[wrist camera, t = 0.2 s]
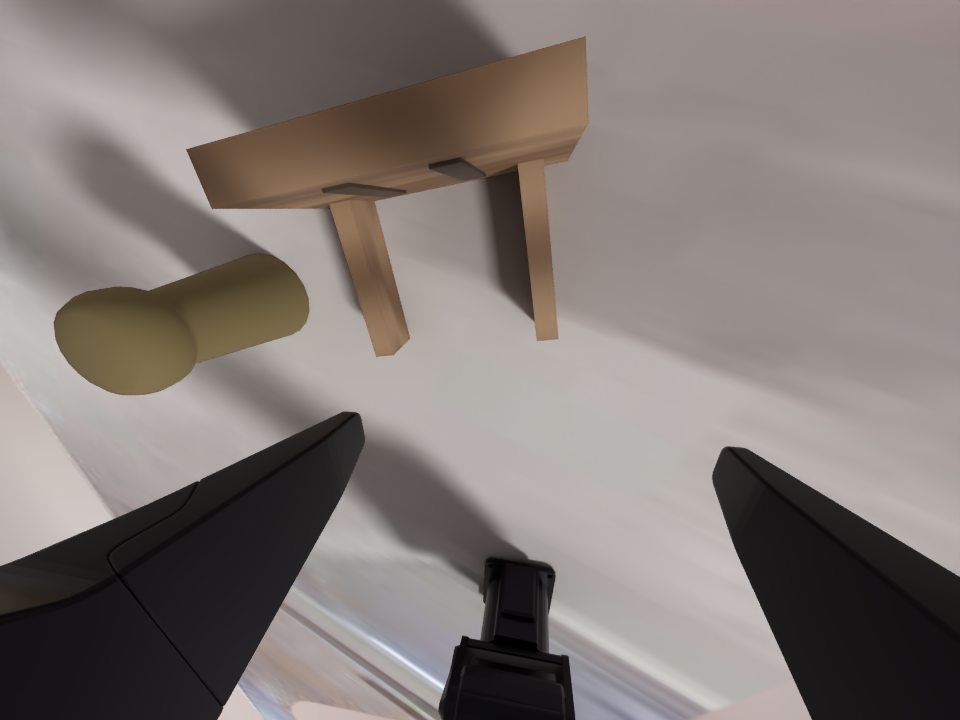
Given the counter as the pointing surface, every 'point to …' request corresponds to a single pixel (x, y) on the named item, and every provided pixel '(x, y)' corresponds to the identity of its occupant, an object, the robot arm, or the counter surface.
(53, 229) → the counter surface
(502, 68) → the post bracket
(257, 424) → the counter surface
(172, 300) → the cork
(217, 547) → the robot arm
